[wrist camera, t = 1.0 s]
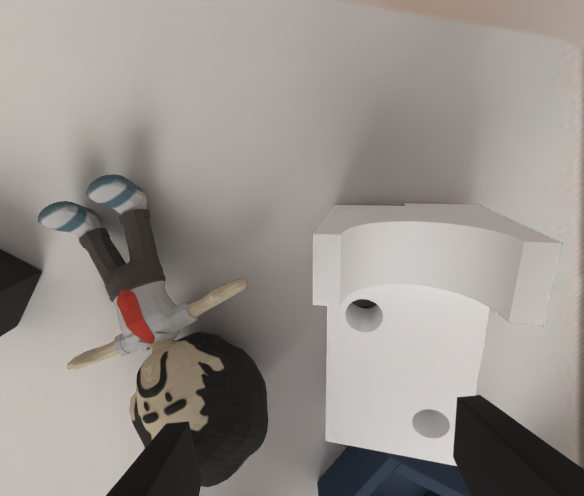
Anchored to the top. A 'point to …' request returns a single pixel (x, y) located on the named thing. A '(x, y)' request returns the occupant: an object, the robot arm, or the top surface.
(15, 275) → the black block
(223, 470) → the figurine
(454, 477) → the blue square tray
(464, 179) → the top surface
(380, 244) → the bracket
